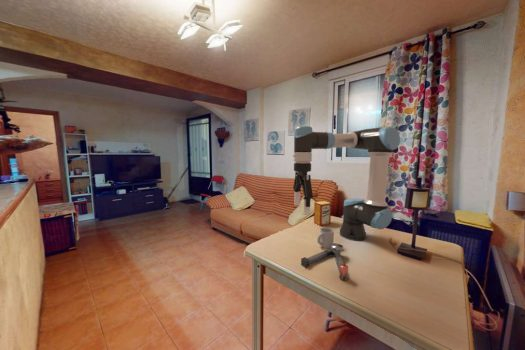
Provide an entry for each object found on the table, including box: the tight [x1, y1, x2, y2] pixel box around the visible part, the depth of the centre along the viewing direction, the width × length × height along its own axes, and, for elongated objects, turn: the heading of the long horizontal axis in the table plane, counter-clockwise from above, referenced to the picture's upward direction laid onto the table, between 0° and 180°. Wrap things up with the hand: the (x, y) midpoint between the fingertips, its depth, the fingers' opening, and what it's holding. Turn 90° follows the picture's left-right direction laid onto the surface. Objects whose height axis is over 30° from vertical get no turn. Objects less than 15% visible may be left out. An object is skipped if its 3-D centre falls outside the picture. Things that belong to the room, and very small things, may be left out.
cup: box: [316, 227, 335, 249], centre depth 109 cm, size 7×10×9 cm
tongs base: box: [300, 248, 342, 269], centre depth 95 cm, size 22×6×4 cm, turn 124°
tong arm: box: [331, 242, 349, 281], centre depth 91 cm, size 22×6×5 cm, turn 169°
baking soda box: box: [313, 200, 332, 227], centre depth 142 cm, size 10×6×16 cm
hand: (301, 209), depth 89 cm, fingers open, 13 cm apart
